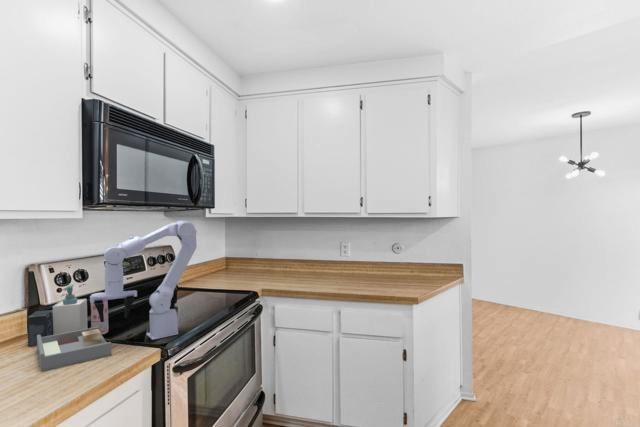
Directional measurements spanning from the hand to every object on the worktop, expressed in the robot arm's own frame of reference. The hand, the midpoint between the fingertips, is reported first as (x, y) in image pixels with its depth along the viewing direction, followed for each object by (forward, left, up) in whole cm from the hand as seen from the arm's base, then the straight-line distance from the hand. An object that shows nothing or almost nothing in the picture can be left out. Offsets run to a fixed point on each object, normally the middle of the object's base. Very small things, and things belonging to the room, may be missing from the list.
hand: (114, 319), depth 133 cm
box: (+20, -19, -9) cm, 29 cm away
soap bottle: (+11, -19, -9) cm, 24 cm away
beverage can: (+2, -16, -9) cm, 18 cm away
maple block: (+7, 0, -7) cm, 10 cm away
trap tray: (+12, 0, -9) cm, 15 cm away
